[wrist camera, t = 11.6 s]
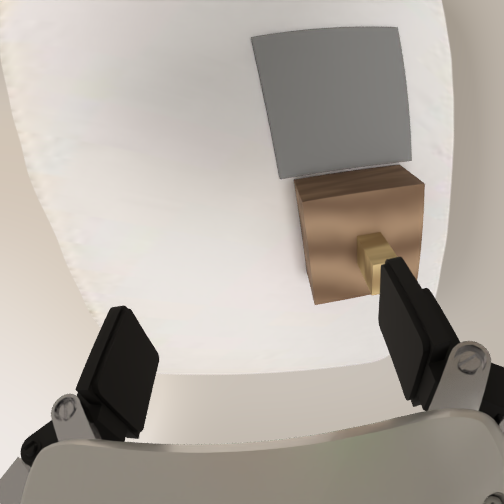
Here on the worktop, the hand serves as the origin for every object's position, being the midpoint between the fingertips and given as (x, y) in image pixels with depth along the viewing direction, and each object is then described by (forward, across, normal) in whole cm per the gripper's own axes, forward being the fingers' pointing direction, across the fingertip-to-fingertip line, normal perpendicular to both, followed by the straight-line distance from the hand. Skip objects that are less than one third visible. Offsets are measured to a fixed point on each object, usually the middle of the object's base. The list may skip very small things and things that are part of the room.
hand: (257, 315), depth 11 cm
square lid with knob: (+30, -11, +14) cm, 35 cm away
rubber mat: (+30, -11, -3) cm, 32 cm away
